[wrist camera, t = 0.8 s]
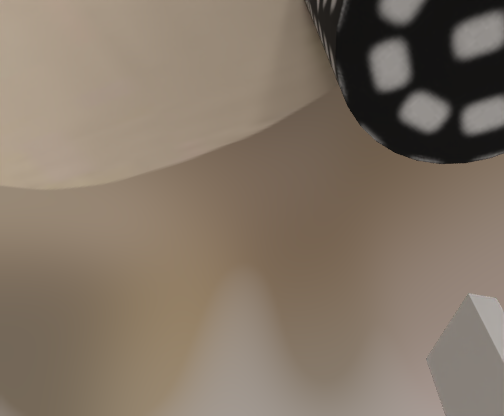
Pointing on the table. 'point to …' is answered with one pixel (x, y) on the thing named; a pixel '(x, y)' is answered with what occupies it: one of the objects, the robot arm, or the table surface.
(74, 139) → the table surface
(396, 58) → the spotted tube
